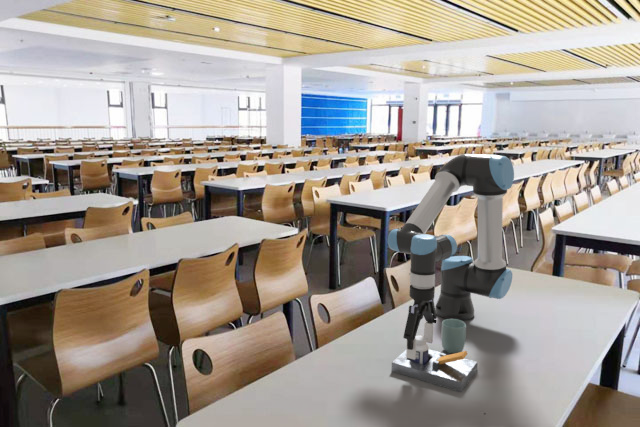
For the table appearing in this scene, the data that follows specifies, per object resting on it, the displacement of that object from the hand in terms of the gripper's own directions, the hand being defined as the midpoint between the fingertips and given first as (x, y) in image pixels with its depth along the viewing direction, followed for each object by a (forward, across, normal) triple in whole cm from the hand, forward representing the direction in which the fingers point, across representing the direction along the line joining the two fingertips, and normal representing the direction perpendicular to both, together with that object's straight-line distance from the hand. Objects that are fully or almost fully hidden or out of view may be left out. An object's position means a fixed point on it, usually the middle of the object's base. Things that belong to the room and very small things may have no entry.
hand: (419, 349), depth 162 cm
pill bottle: (+6, 0, 0) cm, 6 cm away
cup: (+6, -16, +5) cm, 18 cm away
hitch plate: (+6, 0, +5) cm, 8 cm away
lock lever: (+1, 0, +10) cm, 10 cm away
